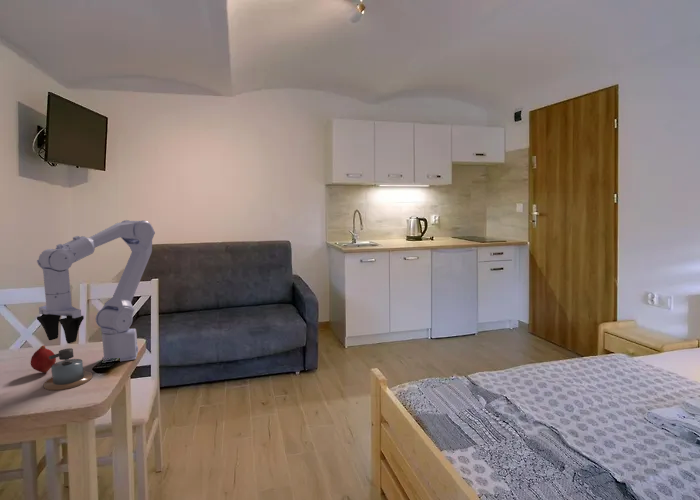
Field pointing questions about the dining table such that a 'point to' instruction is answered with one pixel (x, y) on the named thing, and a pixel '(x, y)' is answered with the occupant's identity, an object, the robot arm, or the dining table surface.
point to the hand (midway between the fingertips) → (62, 340)
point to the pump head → (63, 354)
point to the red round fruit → (42, 360)
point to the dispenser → (67, 375)
